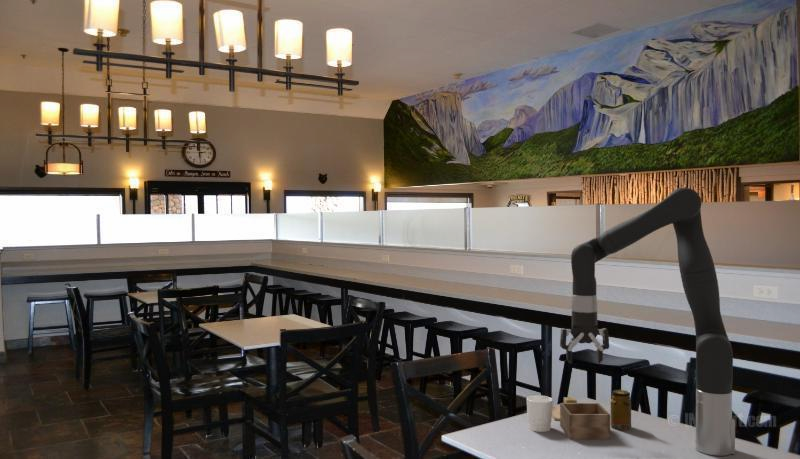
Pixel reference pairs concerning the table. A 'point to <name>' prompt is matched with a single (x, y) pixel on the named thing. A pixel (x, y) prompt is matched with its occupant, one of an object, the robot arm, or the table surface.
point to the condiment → (621, 410)
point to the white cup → (539, 413)
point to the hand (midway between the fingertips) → (584, 362)
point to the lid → (557, 409)
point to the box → (584, 421)
